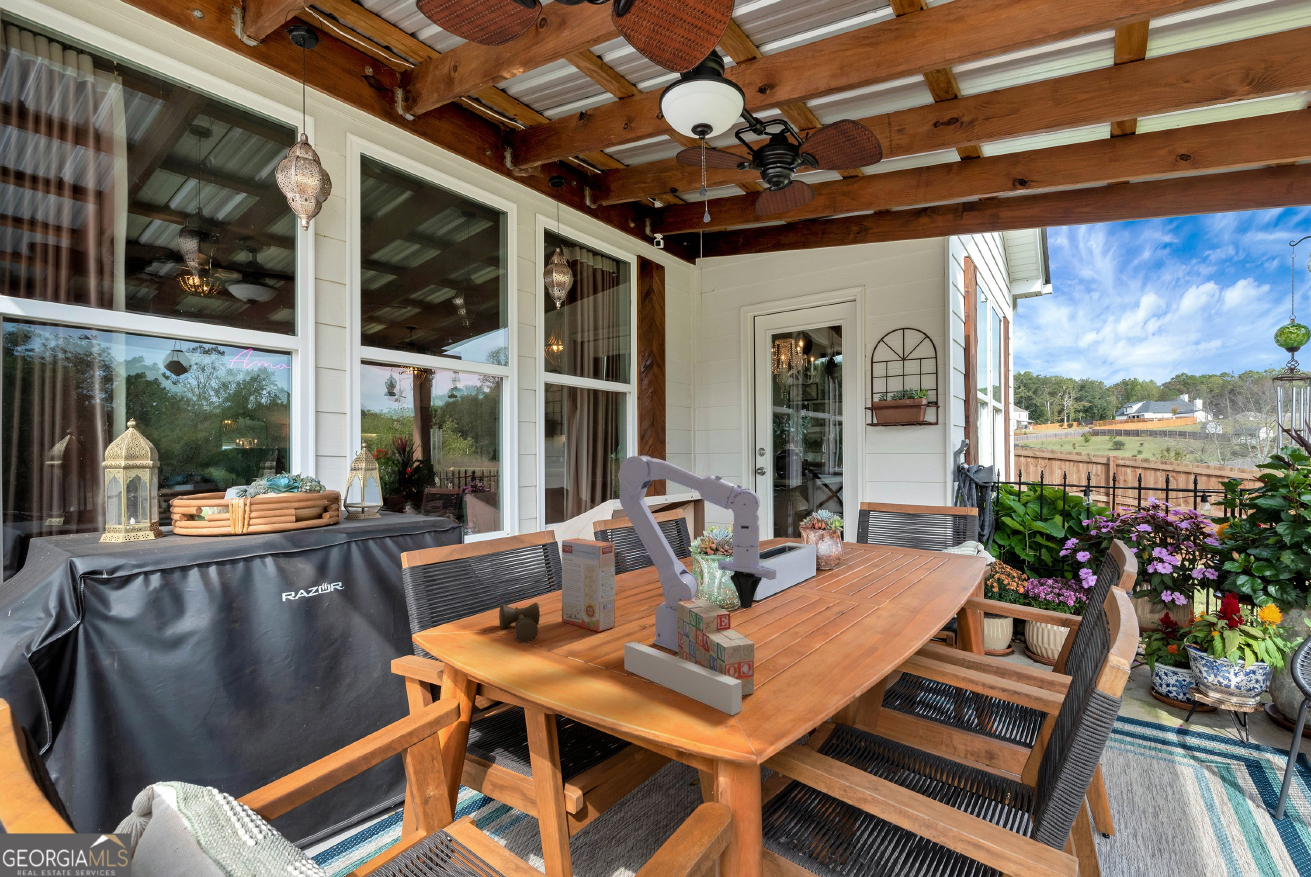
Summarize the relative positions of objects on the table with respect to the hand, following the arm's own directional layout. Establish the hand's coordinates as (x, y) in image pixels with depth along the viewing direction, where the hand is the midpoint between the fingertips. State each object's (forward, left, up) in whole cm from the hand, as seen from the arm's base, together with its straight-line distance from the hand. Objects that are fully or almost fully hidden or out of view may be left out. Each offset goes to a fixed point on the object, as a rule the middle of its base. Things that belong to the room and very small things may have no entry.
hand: (746, 607), depth 130 cm
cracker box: (-39, -14, -10) cm, 43 cm away
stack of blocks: (+4, -15, -10) cm, 19 cm away
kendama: (-47, -28, -10) cm, 55 cm away
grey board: (+4, -25, -9) cm, 27 cm away
